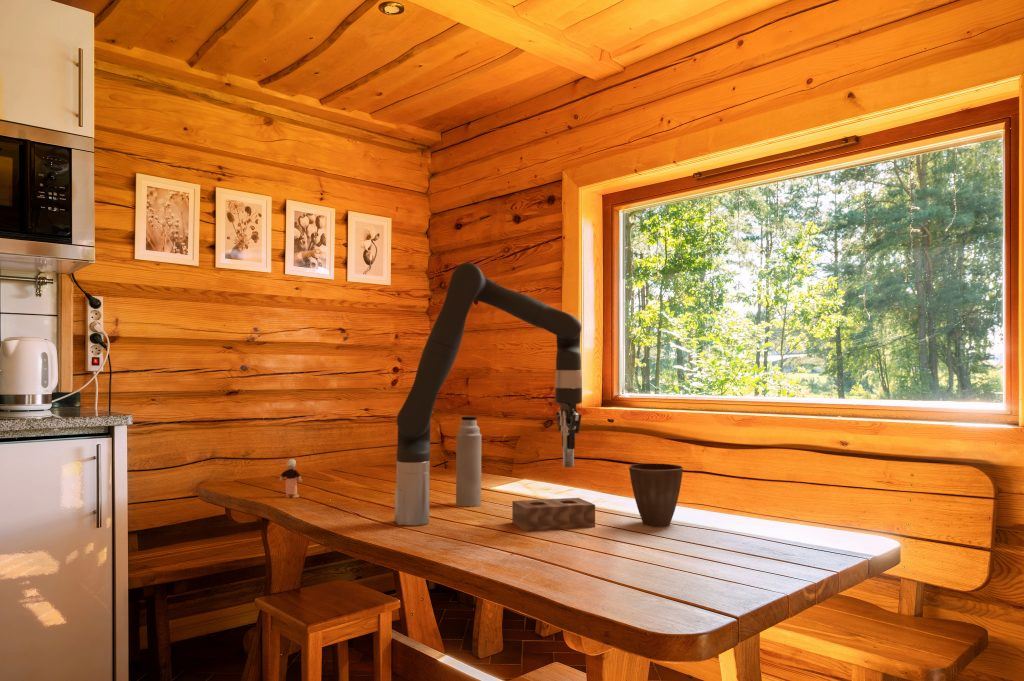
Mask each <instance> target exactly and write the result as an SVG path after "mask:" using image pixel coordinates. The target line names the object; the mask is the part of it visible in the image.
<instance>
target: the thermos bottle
mask: <svg viewBox="0 0 1024 681" xmlns="http://www.w3.org/2000/svg"><path fill="white" fill-rule="evenodd" d="M477 420H478V417H477V416H462V417H461V425H460V426H458V433H456V452H455V453H456V456H455V457H456V459H455V460H456V464H455V465H456V466H455V468H456V470H455V471H456V472H455V474H456V478H455V482H456V484H455V506H457V505H458V506H457V507H461V506H470V507H469V508H473V507H472V506H476V507H479V505H480V506H482V447H483V446H482V437H483V436H482V433H480V430H481V429H480V427H479V426H478V425H477V424H478V421H477Z"/></svg>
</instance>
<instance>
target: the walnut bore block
mask: <svg viewBox="0 0 1024 681" xmlns="http://www.w3.org/2000/svg"><path fill="white" fill-rule="evenodd" d="M511 514H512V521H511V522H512V524H514V525H515V526H517V527H519V528H520V529H522V530H523V531H525V532H533V531H547V530H549V531H550V530H564V529H565V530H566V529H580V528H581V529H582V528H584V529H585V528H596V504H595V503H592V502H589V501H588V500H585V499H583V498H580V497H570V498H569V497H568V498H567V497H566V498H565V497H563V498H547V499H546V498H545V499H528V500H527V499H525V500H524V499H523V500H521V499H520V500H512V513H511Z"/></svg>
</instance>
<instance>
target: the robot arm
mask: <svg viewBox="0 0 1024 681" xmlns="http://www.w3.org/2000/svg"><path fill="white" fill-rule="evenodd" d="M446 292H447V293H446V294H445V295H446V296H445V297H444V298H445V300H444V302H443V305H442V307H441V309H440V311H439V314H438V316H437V318H436V320H435V322H434V324H433V327H432V328H431V331H430V333H429V335H428V337H427V340H426V343H425V345H424V348H423V350H422V353H421V355H420V356H421V357H420V360H419V363H418V365H417V370H416V374H415V378H414V381H413V383H412V387H411V389H410V391H409V393H408V395H407V397H406V399H405V401H404V403H403V405H402V407H401V408H400V410H399V411H398V413H397V415H396V416H397V417H396V426H397V445H396V446H397V448H396V486H395V488H394V522H395V524H396V525H397V526H422V525H427V524H429V523H430V483H431V482H430V479H431V478H430V476H431V474H430V472H431V470H430V468H431V466H430V465H431V464H430V463H431V461H430V458H431V417H432V414H433V413H432V412H433V410H434V406H435V403H436V400H437V397H438V395H439V392H440V390H441V388H442V386H443V384H444V383H445V381H446V379H447V378H448V375H449V373H450V372H451V369H452V367H453V364H455V360H456V357H457V355H458V353H459V350H460V347H461V345H462V344H461V343H462V339H463V335H464V331H465V325H466V320H467V317H468V313H469V312H470V309H471V307H472V305H473V302H474V301H477V302H479V303H484V304H487V305H489V306H491V307H493V308H494V307H495V308H497V309H499V310H501V311H503V312H505V313H507V314H510V315H511V316H514V317H515V318H517V319H519V320H521V321H523V322H525V323H528V325H529V324H530V325H532V326H534V327H536V328H538V329H542V330H546V331H548V332H550V333H551V334H553V335H555V336H556V358H555V377H554V378H555V379H554V381H555V382H554V389H555V390H554V402H555V403H556V404H560V407H559V411H555V412H556V413H555V416H556V421H557V429H558V431H559V432H560V434H561V447H562V448H563V417H564V426H565V427H566V432H567V449H574V450H575V447H576V446H575V445H576V435H577V434H579V432H580V425H581V422H582V421H581V420H582V414H581V413H578V407H577V405H578V404H582V403H583V390H582V389H583V377H582V354H581V351H580V350H581V332H582V323H581V322H580V320H579V318H577V317H576V316H574V315H572V314H570V313H568V312H565V311H562V310H560V309H557V308H554V307H552V306H550V305H549V304H547V303H544V302H542V301H541V300H538V299H536V298H534V297H532V296H528V295H527V294H525V293H524V294H523V293H521V292H519V291H518V292H517V291H514V290H511V289H508V288H506V287H504V286H502V285H500V284H497V283H496V282H494V281H492V280H491V279H489V278H488V277H487V276H485V275H484V274H483V272H482V270H481V268H480V267H478V266H477V265H476V264H474V263H471V262H464V263H462V264H459V265H458V266H457V267H456V268H455V269H454V270H453V272H452V273H451V276H450V281H449V285H448V289H447V291H446ZM568 423H570V424H568Z"/></svg>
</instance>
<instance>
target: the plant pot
mask: <svg viewBox="0 0 1024 681" xmlns="http://www.w3.org/2000/svg"><path fill="white" fill-rule="evenodd" d="M628 470H629V477H630V484H631V488H632V492H633V496H634V500H635V504H636V507H637V510H638V513H639V517H640V518H641V521H642V523H643V525H644V526H649V527H650V526H651V527H667V526H670V525H671V523H672V519H673V516H674V514H675V510H676V507H677V504H678V502H679V501H678V500H679V496H680V492H681V485H682V481H683V480H682V479H683V472H684V466H682V465H679V464H670V463H636V464H635V463H634V464H630V465H629V466H628Z"/></svg>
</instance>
